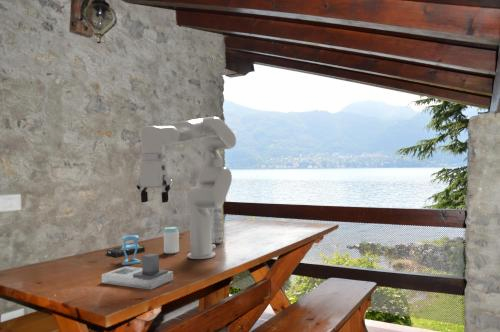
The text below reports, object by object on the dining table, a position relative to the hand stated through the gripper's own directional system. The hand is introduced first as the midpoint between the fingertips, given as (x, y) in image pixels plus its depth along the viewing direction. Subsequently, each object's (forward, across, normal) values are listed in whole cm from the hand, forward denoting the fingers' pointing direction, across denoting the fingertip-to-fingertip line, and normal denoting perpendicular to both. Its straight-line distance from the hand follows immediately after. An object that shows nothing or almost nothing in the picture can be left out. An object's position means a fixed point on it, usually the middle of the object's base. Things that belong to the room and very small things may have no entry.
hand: (154, 202), depth 150 cm
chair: (+28, +21, -9) cm, 36 cm away
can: (+29, +15, -30) cm, 44 cm away
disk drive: (+29, +36, -23) cm, 52 cm away
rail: (+27, -1, +14) cm, 30 cm away
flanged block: (+26, -7, +14) cm, 30 cm away
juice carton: (+30, +7, -59) cm, 66 cm away
